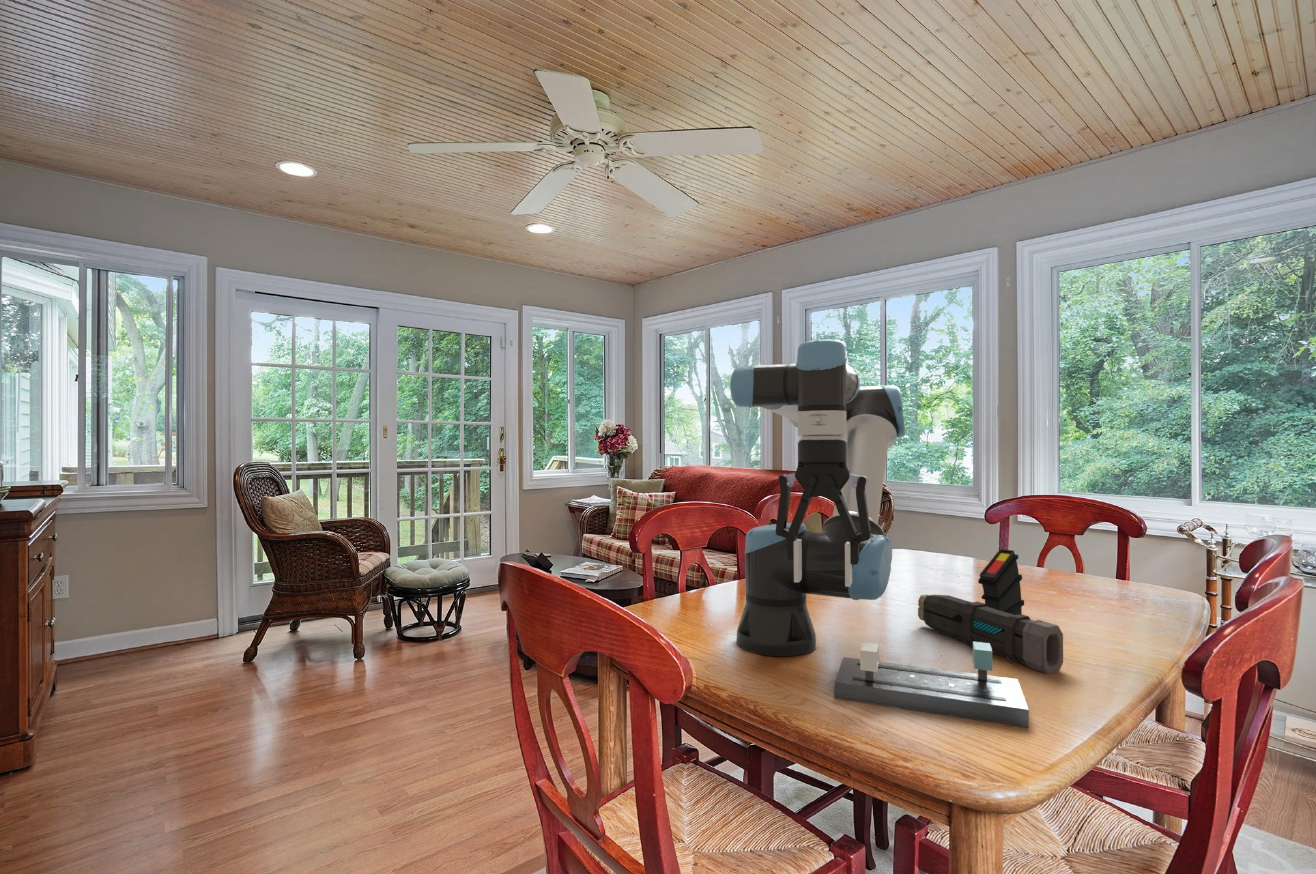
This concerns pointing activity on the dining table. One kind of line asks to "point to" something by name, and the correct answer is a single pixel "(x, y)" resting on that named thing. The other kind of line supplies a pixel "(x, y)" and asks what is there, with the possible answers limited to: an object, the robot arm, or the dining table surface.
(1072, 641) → the dining table surface
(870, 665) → the fader near
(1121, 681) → the dining table surface
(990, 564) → the magazine
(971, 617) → the tube
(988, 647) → the fader far
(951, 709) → the console
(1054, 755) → the dining table surface
